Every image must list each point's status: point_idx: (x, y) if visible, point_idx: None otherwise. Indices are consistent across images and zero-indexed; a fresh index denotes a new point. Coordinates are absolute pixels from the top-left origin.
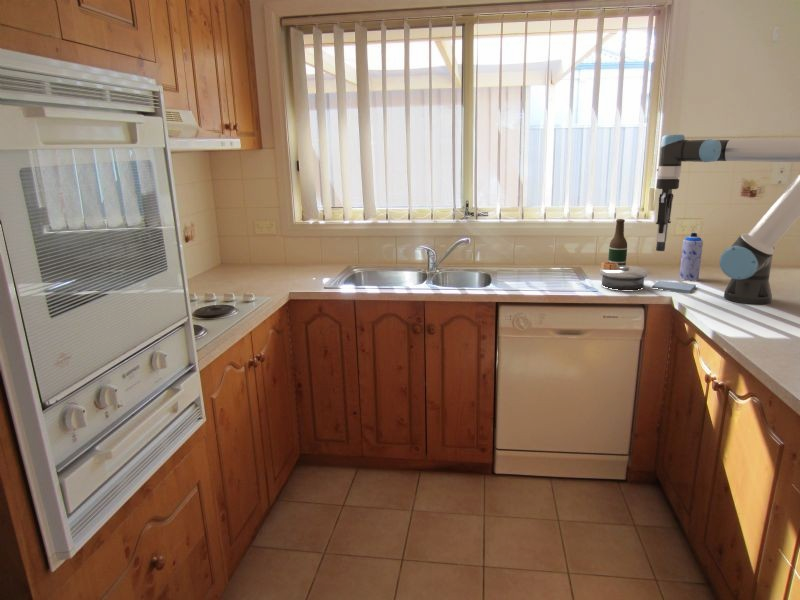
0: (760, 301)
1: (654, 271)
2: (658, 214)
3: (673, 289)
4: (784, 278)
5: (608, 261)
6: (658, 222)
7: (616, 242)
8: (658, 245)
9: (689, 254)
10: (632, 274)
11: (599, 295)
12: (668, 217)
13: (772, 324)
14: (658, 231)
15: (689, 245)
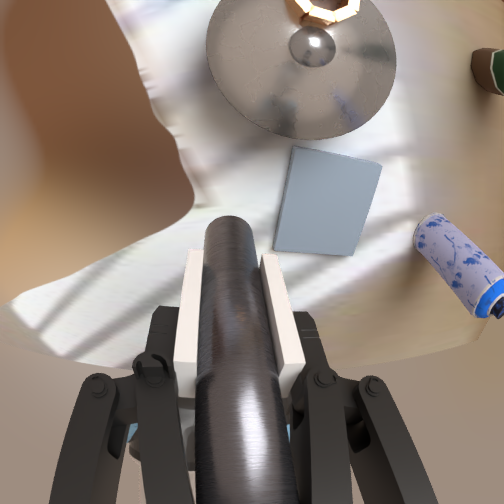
0: None
1: (490, 161)
2: (63, 459)
3: (282, 208)
4: (426, 348)
5: (498, 49)
6: (89, 385)
7: None
8: (205, 245)
9: (456, 271)
10: (219, 88)
11: (124, 20)
12: (290, 446)
13: (103, 352)
14: (181, 310)
15: (473, 286)
